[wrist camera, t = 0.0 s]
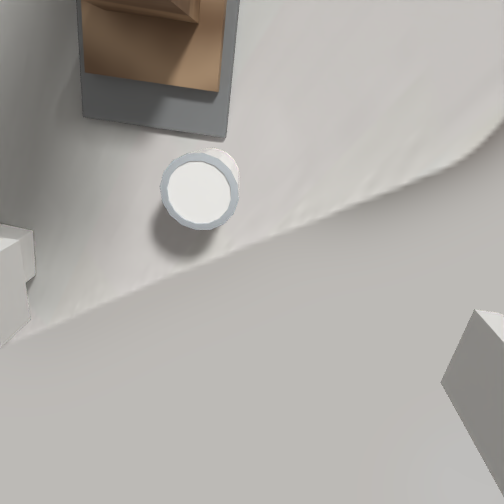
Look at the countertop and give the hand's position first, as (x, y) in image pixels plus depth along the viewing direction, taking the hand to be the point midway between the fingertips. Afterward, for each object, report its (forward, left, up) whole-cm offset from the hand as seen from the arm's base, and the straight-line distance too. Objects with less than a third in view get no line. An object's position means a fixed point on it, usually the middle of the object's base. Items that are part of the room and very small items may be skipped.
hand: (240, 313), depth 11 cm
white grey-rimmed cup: (+3, -5, -28) cm, 29 cm away
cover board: (-11, -11, -27) cm, 32 cm away
